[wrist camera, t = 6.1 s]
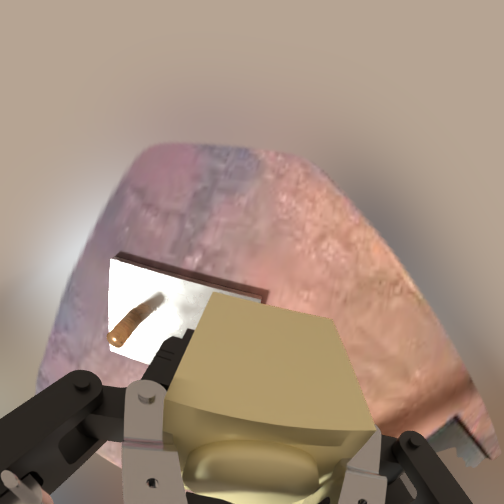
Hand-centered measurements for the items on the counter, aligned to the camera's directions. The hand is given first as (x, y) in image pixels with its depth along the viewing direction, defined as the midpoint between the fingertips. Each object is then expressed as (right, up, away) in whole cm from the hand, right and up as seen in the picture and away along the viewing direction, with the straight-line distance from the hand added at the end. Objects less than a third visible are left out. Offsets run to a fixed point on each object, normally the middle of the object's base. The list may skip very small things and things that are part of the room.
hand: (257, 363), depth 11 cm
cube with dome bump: (0, 0, +1) cm, 1 cm away
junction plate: (-9, -4, +19) cm, 22 cm away
